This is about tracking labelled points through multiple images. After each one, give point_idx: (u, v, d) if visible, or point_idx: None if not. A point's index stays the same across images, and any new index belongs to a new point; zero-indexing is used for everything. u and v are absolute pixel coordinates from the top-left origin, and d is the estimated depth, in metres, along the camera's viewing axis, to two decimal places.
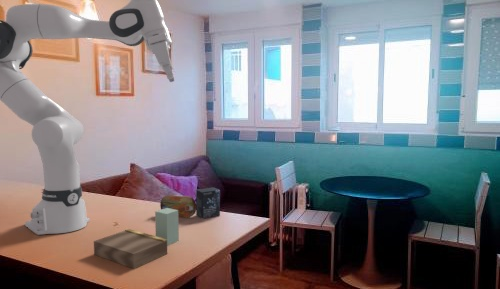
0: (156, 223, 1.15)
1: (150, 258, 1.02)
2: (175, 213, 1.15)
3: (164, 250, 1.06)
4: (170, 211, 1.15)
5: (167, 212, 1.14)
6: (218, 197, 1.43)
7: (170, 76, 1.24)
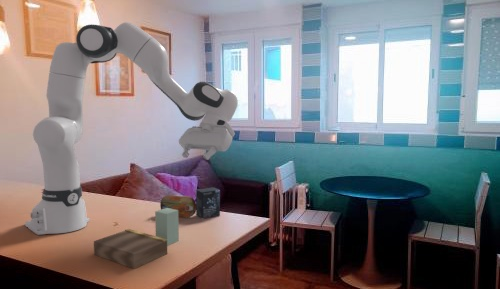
0: (156, 223, 1.15)
1: (150, 258, 1.02)
2: (175, 213, 1.16)
3: (164, 250, 1.06)
4: (170, 211, 1.15)
5: (167, 212, 1.14)
6: (218, 197, 1.43)
7: (208, 157, 1.23)
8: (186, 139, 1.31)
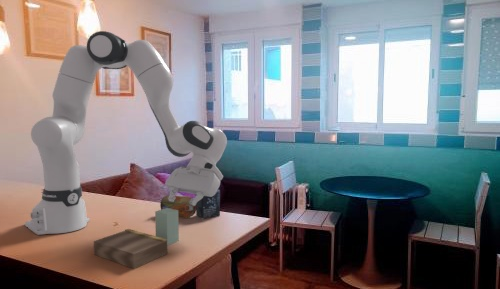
0: (156, 223, 1.15)
1: (150, 258, 1.02)
2: (175, 213, 1.16)
3: (164, 250, 1.06)
4: (170, 211, 1.15)
5: (167, 212, 1.14)
6: (218, 197, 1.43)
7: (194, 203, 1.18)
8: (172, 182, 1.26)
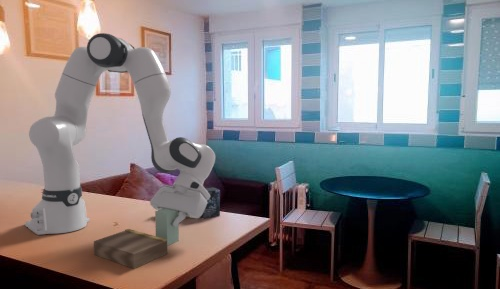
0: (156, 223, 1.15)
1: (150, 258, 1.02)
2: (175, 213, 1.15)
3: (164, 250, 1.06)
4: (170, 211, 1.15)
5: (167, 212, 1.14)
6: (218, 197, 1.43)
7: (176, 224, 1.14)
8: (157, 201, 1.21)
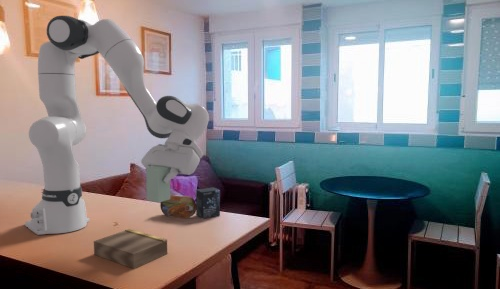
0: (147, 180, 1.11)
1: (150, 258, 1.02)
2: (167, 170, 1.12)
3: (164, 250, 1.06)
4: (161, 167, 1.11)
5: (158, 168, 1.10)
6: (218, 197, 1.43)
7: (167, 180, 1.10)
8: (148, 160, 1.17)
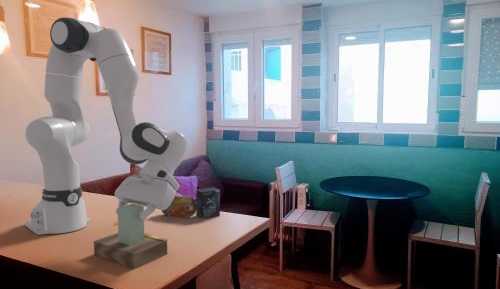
0: (119, 220, 1.04)
1: (150, 258, 1.02)
2: (140, 210, 1.05)
3: (164, 250, 1.06)
4: (134, 207, 1.04)
5: (130, 208, 1.03)
6: (218, 197, 1.43)
7: (144, 217, 1.02)
8: (122, 192, 1.10)
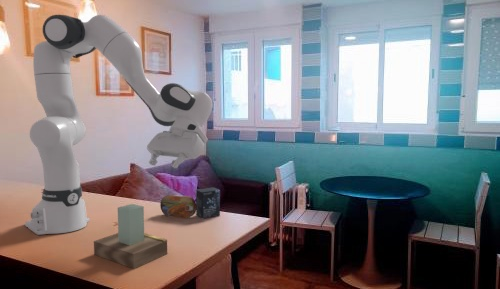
0: (119, 220, 1.04)
1: (150, 258, 1.02)
2: (140, 210, 1.05)
3: (164, 250, 1.06)
4: (134, 207, 1.04)
5: (130, 208, 1.03)
6: (218, 197, 1.43)
7: (176, 165, 1.12)
8: (154, 145, 1.19)
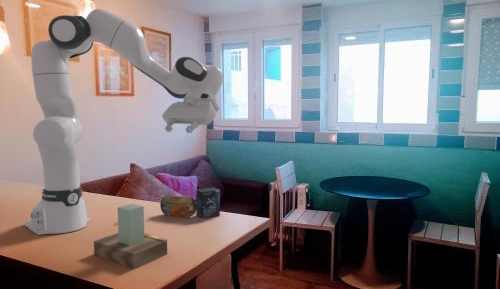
0: (119, 220, 1.04)
1: (150, 258, 1.02)
2: (140, 210, 1.05)
3: (164, 250, 1.06)
4: (134, 207, 1.04)
5: (130, 208, 1.03)
6: (218, 197, 1.43)
7: (191, 130, 1.21)
8: (169, 114, 1.28)
